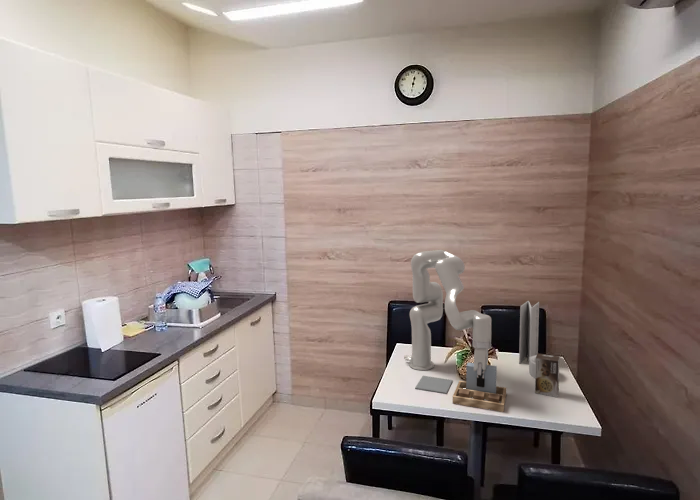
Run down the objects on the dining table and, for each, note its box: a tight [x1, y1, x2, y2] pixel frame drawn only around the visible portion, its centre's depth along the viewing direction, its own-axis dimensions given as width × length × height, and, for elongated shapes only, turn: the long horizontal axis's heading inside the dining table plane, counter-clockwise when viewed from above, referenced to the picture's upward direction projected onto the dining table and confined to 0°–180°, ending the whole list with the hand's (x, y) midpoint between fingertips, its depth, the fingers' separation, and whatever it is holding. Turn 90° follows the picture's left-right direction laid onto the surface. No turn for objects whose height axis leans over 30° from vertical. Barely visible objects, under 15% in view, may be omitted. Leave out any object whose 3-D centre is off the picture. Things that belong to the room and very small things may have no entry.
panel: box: [465, 362, 498, 394], centre depth 182 cm, size 12×4×13 cm, turn 66°
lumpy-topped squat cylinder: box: [528, 355, 537, 379], centre depth 200 cm, size 10×13×9 cm
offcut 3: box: [487, 393, 501, 403], centre depth 173 cm, size 4×4×4 cm
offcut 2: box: [472, 391, 485, 401], centre depth 176 cm, size 4×4×4 cm
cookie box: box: [534, 352, 560, 398], centre depth 182 cm, size 9×6×16 cm
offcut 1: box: [458, 389, 471, 398], centre depth 178 cm, size 4×4×4 cm
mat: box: [414, 375, 453, 395], centre depth 193 cm, size 14×14×1 cm
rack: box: [452, 380, 507, 413], centre depth 179 cm, size 20×16×3 cm
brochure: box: [518, 300, 540, 364], centre depth 218 cm, size 14×6×30 cm, turn 143°
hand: (481, 384), depth 182 cm, fingers closed on panel, 4 cm apart
